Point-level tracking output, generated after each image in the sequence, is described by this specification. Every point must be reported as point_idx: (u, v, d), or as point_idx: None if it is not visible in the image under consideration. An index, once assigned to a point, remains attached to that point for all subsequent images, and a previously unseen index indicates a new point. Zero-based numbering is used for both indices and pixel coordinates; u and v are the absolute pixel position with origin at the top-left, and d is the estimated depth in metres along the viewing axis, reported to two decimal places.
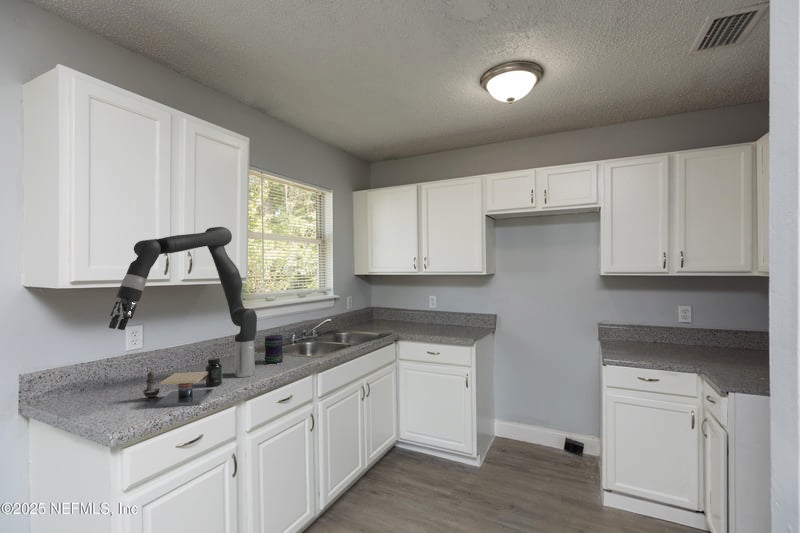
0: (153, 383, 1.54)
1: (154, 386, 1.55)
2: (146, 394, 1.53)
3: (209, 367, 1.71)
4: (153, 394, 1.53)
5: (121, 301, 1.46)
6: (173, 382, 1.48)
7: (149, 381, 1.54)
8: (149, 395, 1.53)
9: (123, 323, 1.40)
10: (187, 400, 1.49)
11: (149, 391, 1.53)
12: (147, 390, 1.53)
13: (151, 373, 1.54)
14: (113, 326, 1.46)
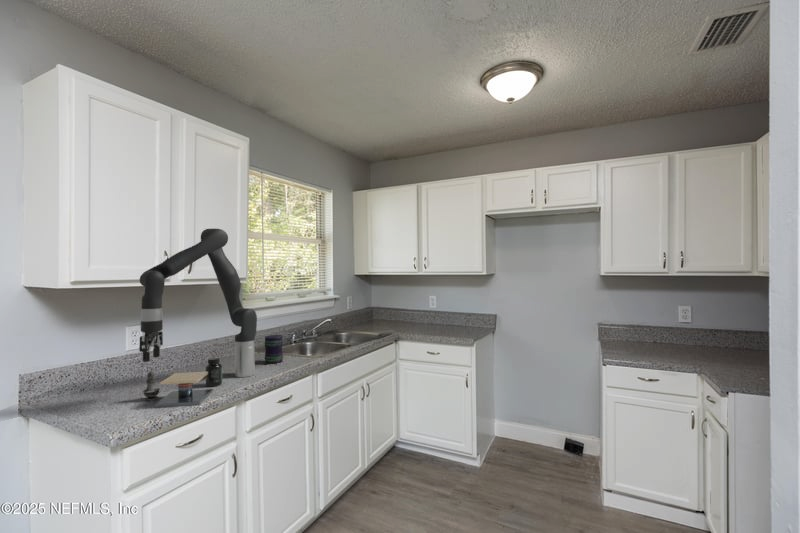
0: (153, 383, 1.54)
1: (154, 386, 1.55)
2: (146, 394, 1.53)
3: (209, 367, 1.71)
4: (153, 394, 1.53)
5: None
6: (173, 382, 1.48)
7: (149, 381, 1.54)
8: (149, 395, 1.53)
9: (144, 356, 1.50)
10: (187, 400, 1.49)
11: (149, 391, 1.53)
12: (147, 390, 1.53)
13: (151, 373, 1.54)
14: (156, 355, 1.59)
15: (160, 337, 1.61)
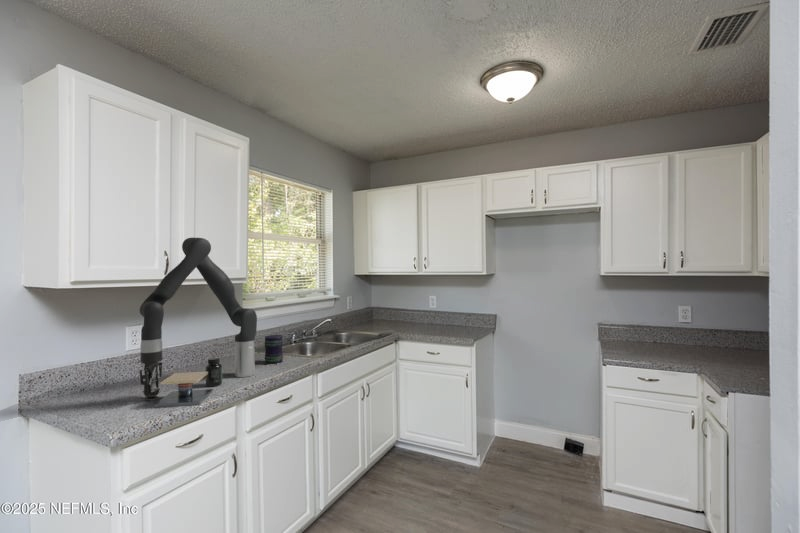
0: (153, 383, 1.54)
1: (154, 386, 1.55)
2: (146, 394, 1.53)
3: (209, 367, 1.71)
4: (153, 394, 1.53)
5: None
6: (173, 382, 1.48)
7: None
8: (149, 395, 1.53)
9: (145, 388, 1.51)
10: (187, 400, 1.49)
11: None
12: None
13: None
14: None
15: (159, 368, 1.61)
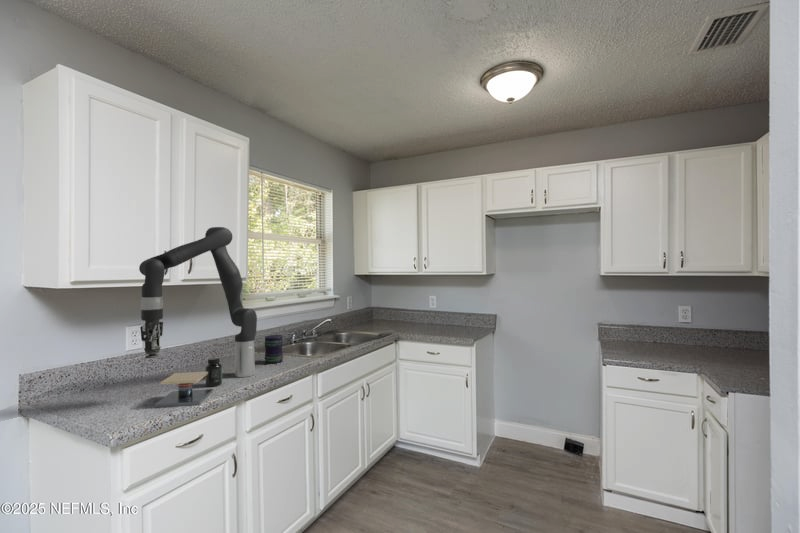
0: (154, 341, 1.55)
1: (155, 344, 1.55)
2: (147, 351, 1.53)
3: (209, 367, 1.71)
4: (154, 351, 1.54)
5: None
6: (173, 382, 1.48)
7: None
8: (150, 352, 1.53)
9: (146, 345, 1.51)
10: (187, 400, 1.49)
11: None
12: None
13: None
14: None
15: (160, 327, 1.61)
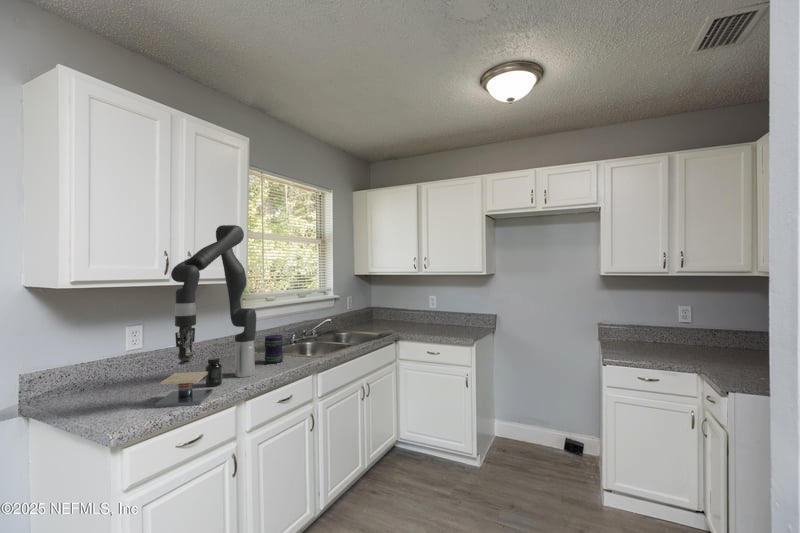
0: (187, 347, 1.54)
1: (188, 350, 1.54)
2: (181, 357, 1.52)
3: (209, 367, 1.71)
4: (187, 358, 1.53)
5: None
6: (173, 382, 1.48)
7: None
8: (184, 358, 1.52)
9: (180, 351, 1.50)
10: (187, 400, 1.49)
11: None
12: None
13: None
14: None
15: (192, 333, 1.60)
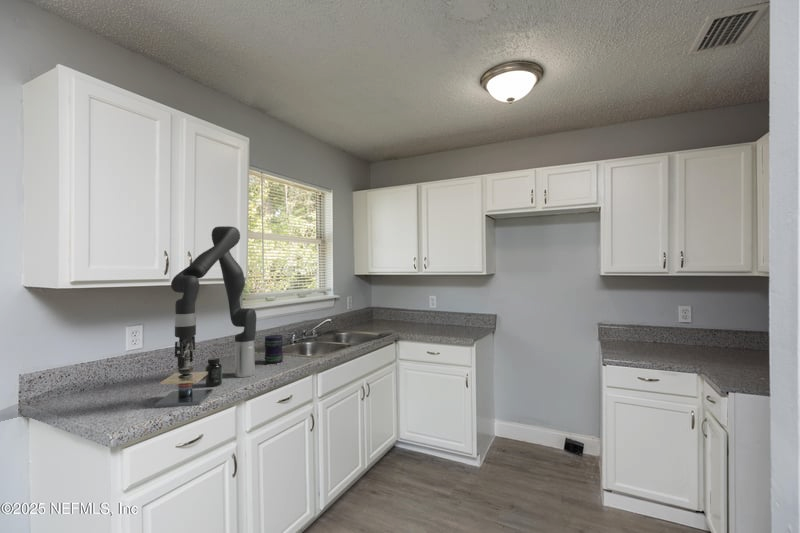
0: (187, 360, 1.54)
1: (188, 363, 1.54)
2: (181, 371, 1.52)
3: (209, 367, 1.71)
4: (188, 371, 1.53)
5: None
6: (173, 382, 1.48)
7: (184, 358, 1.53)
8: (184, 372, 1.52)
9: (179, 361, 1.49)
10: (187, 400, 1.49)
11: (184, 368, 1.52)
12: (182, 367, 1.53)
13: None
14: None
15: (193, 342, 1.60)
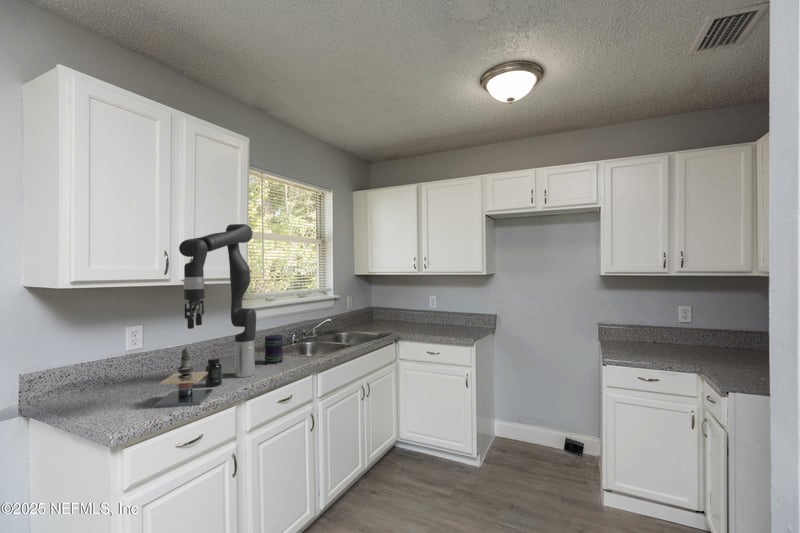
0: (187, 360, 1.54)
1: (188, 363, 1.54)
2: (181, 371, 1.52)
3: (209, 367, 1.71)
4: (188, 371, 1.53)
5: None
6: (173, 382, 1.48)
7: (184, 358, 1.53)
8: (184, 372, 1.52)
9: (189, 323, 1.52)
10: (187, 400, 1.49)
11: (184, 368, 1.52)
12: (182, 367, 1.53)
13: (185, 350, 1.54)
14: (198, 323, 1.62)
15: (201, 306, 1.63)
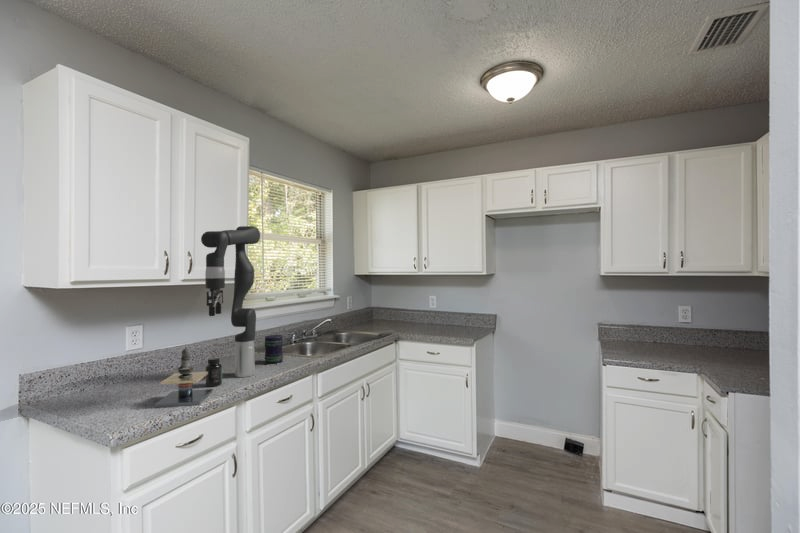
0: (187, 360, 1.54)
1: (188, 363, 1.54)
2: (181, 371, 1.52)
3: (209, 367, 1.71)
4: (188, 371, 1.53)
5: None
6: (173, 382, 1.48)
7: (183, 358, 1.53)
8: (184, 372, 1.52)
9: (210, 310, 1.59)
10: (187, 400, 1.49)
11: (184, 368, 1.52)
12: (182, 367, 1.53)
13: (185, 350, 1.54)
14: (218, 312, 1.68)
15: (221, 295, 1.70)
